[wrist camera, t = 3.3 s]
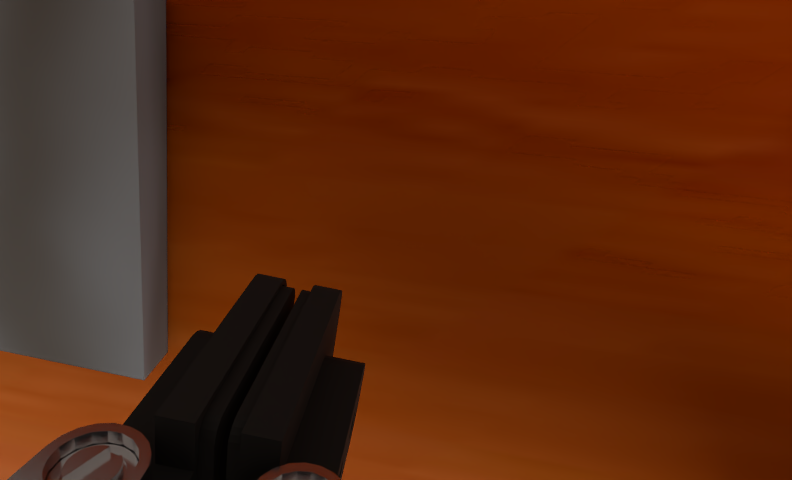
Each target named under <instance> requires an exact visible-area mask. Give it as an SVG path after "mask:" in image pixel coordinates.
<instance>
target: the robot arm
mask: <svg viewBox="0 0 792 480" xmlns="http://www.w3.org/2000/svg"><path fill="white" fill-rule="evenodd" d="M341 298H342V290H337V289H332V288H327V287H322V286H317V285H314V286H313V288H312V290H311V292H310V291H305V290H302V291H301V293H300V295H299V297H298V298H297V300H296V302H295V304H294V299H295V289H294V288H290V287H287V283H286V279H282V278H277V277H272V276H267V275H262V274H257V275H256V276H255V277H254V278H253V280H252V281H251V282H250V284H249V285H248V287H247V288H246V289H245V291H244V292H243V293H242V295H241V296H240V298H239V299H238V300H237V302H236V303H235V305H234V306H233V307H232V309H231V310H230V311H229V313H228V314H227V316H226V317H225V318H224V320H223V321H222V322H221V324H220V325H219V327H218V328H217V329H216V331H215V332H214V333H213V332H208V331H203V330H200V331H197V332H196V333H195V334H194V335H193V336H192V337H191V338H190V340H189V341H188V342H187V343H186V345H185V346H184V347H183V348H182V350H181V351H180V352H179V354H178V355H177V356H176V357H175V359H174V360H173V361H172V363H171V364H170V365H169V366H168V368H167V369H166V370H165V371H164V373H163V374H162V375H161V377H160V378H159V379H158V380H157V382H156V383H155V384H154V386H153V387H152V388H151V389H150V391H149V392H148V393H147V394H146V396H145V397H144V398H143V400H142V401H141V402H140V403H139V405H138V406H137V407H136V409H135V410H134V411H133V412H132V414H131V415H130V416H129V417H128V419H127V420H126V421H125V423H124V424H123V425H121V424H116V423H101V424H93V425H89V426H85V427H80V428H77V429H75V430H73V431H70V432H68V433H66V434H64V435H61V436H60V437H59V438H57V439H56V440H54V441H53V442H51V443H50V444H48V445H47V446H46V447H44V448H43V449H42V450H41V451H40V452H39V453H38V454H36V455H35V456H34V457H33V458H32V459H31V460H29V461H28V462H27V463H26V464H25V465H24V466H22V467H21V468H20V469H19V470H18V471H17V472H16V473H14V474H13V475H12V476H11V477H10V478H9V479H7V480H341V478H342V474H343V469H344V465H345V461H346V457H347V452H348V448H349V444H350V439H351V435H352V430H353V426H354V421H355V416H356V412H357V407H358V402H359V396H360V391H361V386H362V380H363V375H364V369H365V363H360V362H355V361H350V360H346V359H341V358H336V357H333V351H334V345H335V338H336V331H337V325H338V318H339V312H340V305H341Z"/></svg>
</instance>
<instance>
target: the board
mask: <svg viewBox="0 0 792 480" xmlns="http://www.w3.org/2000/svg"><path fill="white" fill-rule="evenodd" d="M0 350H1V351H6V352H10V353H15V354H20V355H25V356H30V357H35V358H39V359H44V360H49V361H54V362H59V363H64V364H68V365H73V366H78V367H83V368H88V369H93V370H98V371H102V372H107V373H112V374H117V375H122V376H127V377H131V378H136V379H141V380H145V379H146V378H147V376H148V375H149V374H150V373H151V371H152V370H153V369H154V368H155V367H156V365H157V364H158V363H159V362H160V361H161V359H162V358H163V357H164V356H165V354H166V353H167V352H168V312H167V94H166V0H0Z"/></svg>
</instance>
